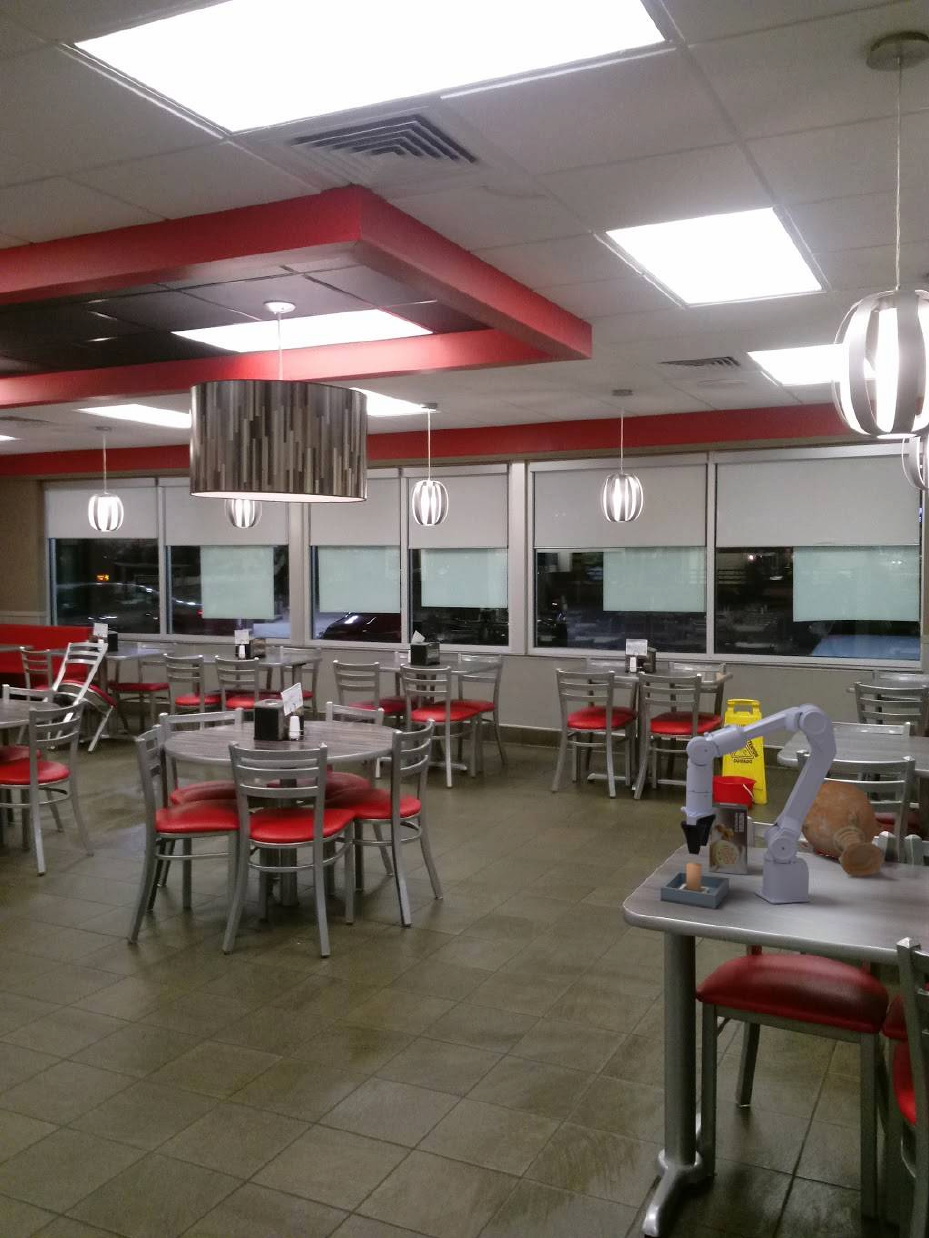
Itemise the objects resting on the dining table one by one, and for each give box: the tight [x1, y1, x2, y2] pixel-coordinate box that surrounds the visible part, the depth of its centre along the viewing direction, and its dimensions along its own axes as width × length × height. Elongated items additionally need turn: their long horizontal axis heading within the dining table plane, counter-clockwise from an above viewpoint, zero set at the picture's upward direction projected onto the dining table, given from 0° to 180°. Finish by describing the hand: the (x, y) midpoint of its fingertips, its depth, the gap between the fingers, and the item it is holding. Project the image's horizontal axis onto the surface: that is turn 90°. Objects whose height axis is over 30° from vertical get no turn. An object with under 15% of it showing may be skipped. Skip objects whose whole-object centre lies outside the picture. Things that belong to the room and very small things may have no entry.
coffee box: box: [708, 801, 749, 876], centre depth 252 cm, size 9×6×16 cm
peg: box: [686, 862, 702, 892], centre depth 230 cm, size 3×3×7 cm
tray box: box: [660, 870, 730, 910], centre depth 232 cm, size 14×12×3 cm
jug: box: [801, 781, 885, 878], centre depth 260 cm, size 20×19×30 cm
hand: (697, 849), depth 234 cm, fingers open, 7 cm apart
